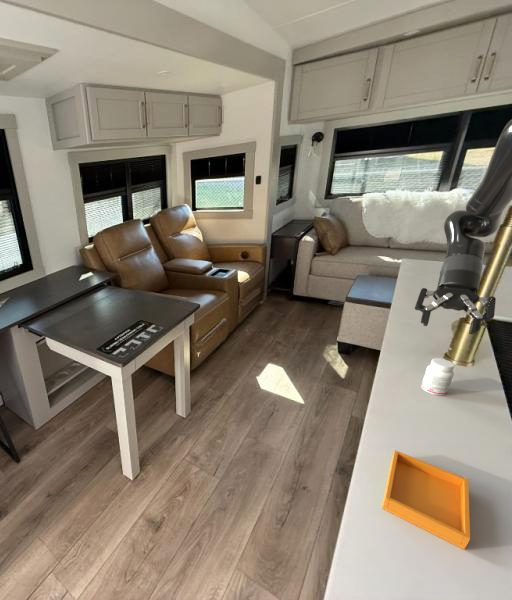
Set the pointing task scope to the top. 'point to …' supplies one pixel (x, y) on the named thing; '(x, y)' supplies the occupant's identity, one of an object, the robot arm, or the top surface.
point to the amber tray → (429, 498)
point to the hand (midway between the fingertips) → (448, 329)
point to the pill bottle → (438, 376)
